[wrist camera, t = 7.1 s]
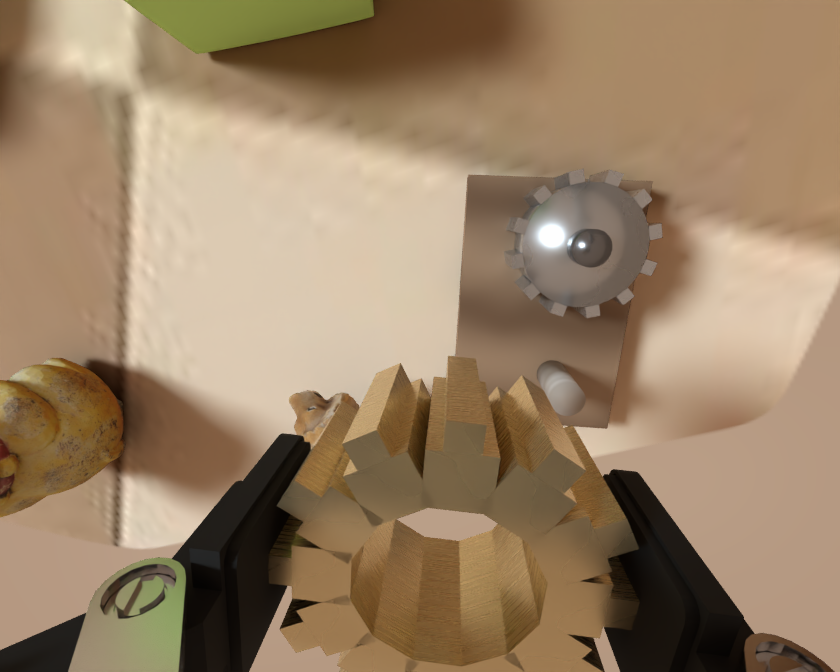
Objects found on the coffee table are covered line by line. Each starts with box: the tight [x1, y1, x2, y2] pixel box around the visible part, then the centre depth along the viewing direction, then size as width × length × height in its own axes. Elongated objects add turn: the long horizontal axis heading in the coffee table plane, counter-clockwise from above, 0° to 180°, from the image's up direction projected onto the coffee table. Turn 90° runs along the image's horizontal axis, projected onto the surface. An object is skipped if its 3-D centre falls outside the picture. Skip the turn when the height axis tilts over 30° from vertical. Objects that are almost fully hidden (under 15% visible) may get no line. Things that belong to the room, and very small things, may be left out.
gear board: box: [455, 175, 653, 428], centre depth 24 cm, size 15×10×6 cm, turn 178°
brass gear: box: [268, 356, 640, 672], centre depth 10 cm, size 7×7×4 cm
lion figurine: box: [289, 390, 359, 449], centre depth 27 cm, size 15×5×9 cm, turn 155°
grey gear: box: [504, 169, 663, 318], centre depth 22 cm, size 7×7×4 cm
